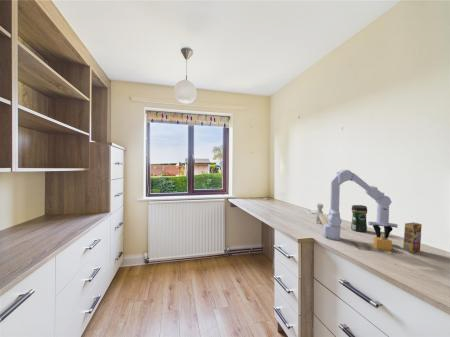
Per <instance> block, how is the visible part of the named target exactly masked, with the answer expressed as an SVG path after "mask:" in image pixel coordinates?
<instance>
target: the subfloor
mask: <svg viewBox="0 0 450 337" xmlns="http://www.w3.org/2000/svg"><path fill="white" fill-rule="evenodd" d="M349 241H350V243H351V244H352V245H353V246H354V247H355V248H356V249H358V250H359V251H369V252H377V253H386V254H387V255H389V256H390V255H391V256H395V255H402V253H401V252H400V251H399V250H397V249H396V248H394V247H392V250H386V249H377V248H375V247H374V246H373V244H374V241H371V242H365V241H364V242H362V241H354V240H349Z"/></svg>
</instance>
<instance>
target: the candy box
mask: <svg viewBox="0 0 450 337" xmlns="http://www.w3.org/2000/svg"><path fill="white" fill-rule="evenodd" d="M422 225H423V224H421V223H419V222H406V223H404V235H403V245H402V246H403V250H404V251H406V252H407V253H410V254H413V253H417V252H420V251H421V243H422V242H421V241H422V240H421V239H422V227H423V226H422Z"/></svg>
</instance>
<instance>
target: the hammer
mask: <svg viewBox="0 0 450 337" xmlns="http://www.w3.org/2000/svg"><path fill="white" fill-rule="evenodd" d="M316 207H317V208H316V212H315V213H316V214H315V221H316V224H317V225H319V224H320V225H322V227H323V226H324V224H328V222H329V221H328V219H327V218H326V216H325V214H324V212H323V211H322V210H323V208H324V204H323V203H319V202H318V203H317V205H316Z"/></svg>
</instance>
